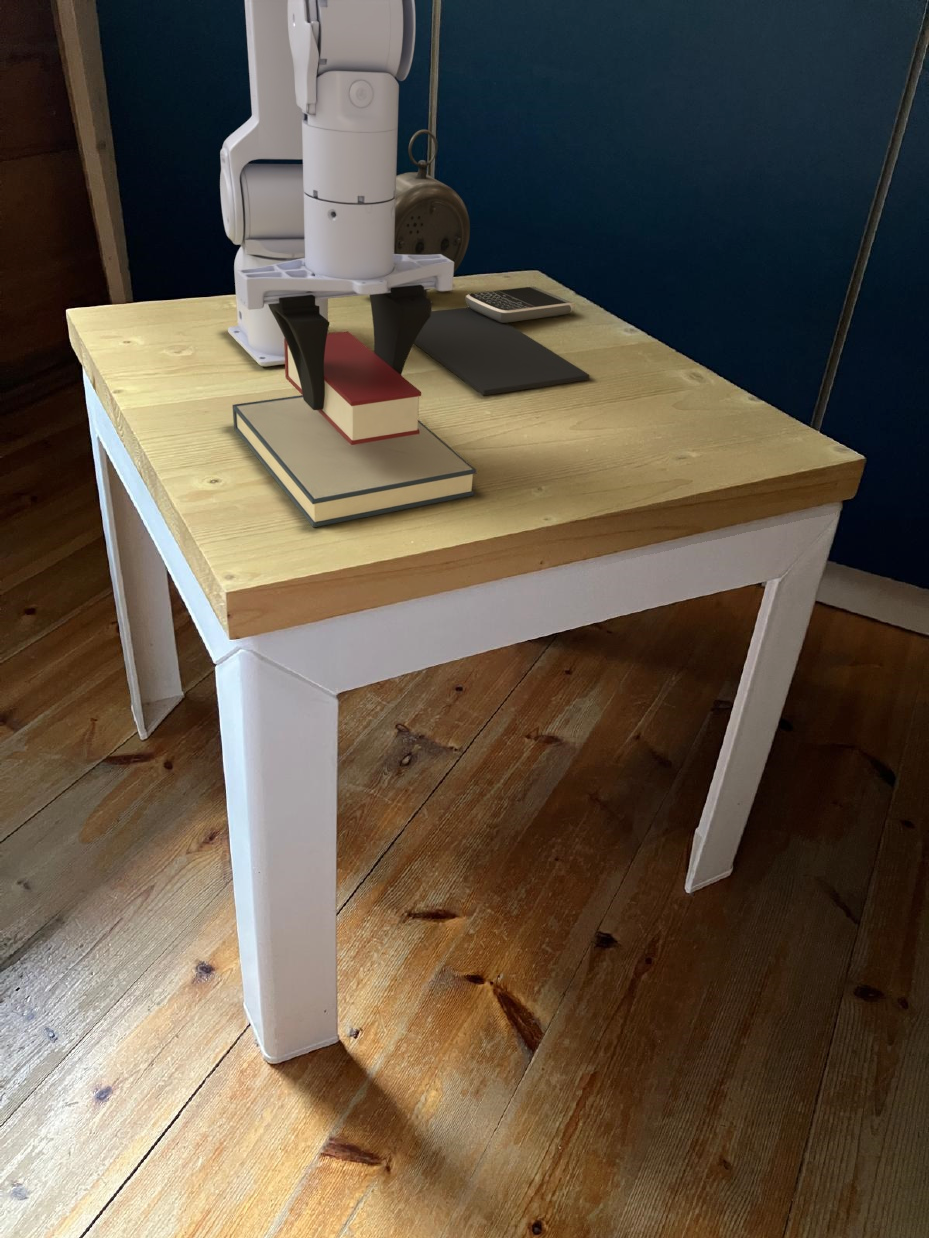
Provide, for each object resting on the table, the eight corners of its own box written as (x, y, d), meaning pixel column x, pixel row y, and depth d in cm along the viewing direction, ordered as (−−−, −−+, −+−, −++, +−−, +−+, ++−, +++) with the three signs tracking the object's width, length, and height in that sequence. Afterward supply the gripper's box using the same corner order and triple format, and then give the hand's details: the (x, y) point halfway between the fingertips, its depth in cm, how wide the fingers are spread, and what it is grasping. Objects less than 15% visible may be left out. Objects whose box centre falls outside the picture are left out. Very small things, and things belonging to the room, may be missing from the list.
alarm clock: (446, 285, 108) (455, 123, 99) (472, 300, 105) (485, 133, 95) (358, 296, 103) (359, 126, 94) (382, 311, 100) (387, 136, 90)
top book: (285, 378, 72) (283, 338, 71) (347, 370, 74) (347, 331, 73) (351, 445, 64) (351, 402, 62) (419, 434, 66) (421, 392, 64)
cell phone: (459, 308, 100) (461, 294, 100) (537, 298, 107) (539, 285, 106) (499, 326, 97) (501, 312, 96) (577, 315, 103) (579, 302, 102)
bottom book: (233, 429, 75) (232, 404, 73) (377, 408, 80) (377, 384, 79) (313, 527, 63) (312, 500, 62) (473, 495, 69) (476, 469, 67)
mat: (383, 321, 97) (383, 316, 97) (479, 310, 102) (479, 306, 102) (483, 395, 83) (483, 390, 83) (588, 380, 88) (589, 374, 88)
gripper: (259, 215, 55) (269, 437, 63) (482, 203, 61) (466, 407, 69) (220, 187, 60) (234, 396, 68) (430, 178, 66) (421, 371, 74)
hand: (349, 399), depth 69 cm, fingers closed on top book, 5 cm apart
